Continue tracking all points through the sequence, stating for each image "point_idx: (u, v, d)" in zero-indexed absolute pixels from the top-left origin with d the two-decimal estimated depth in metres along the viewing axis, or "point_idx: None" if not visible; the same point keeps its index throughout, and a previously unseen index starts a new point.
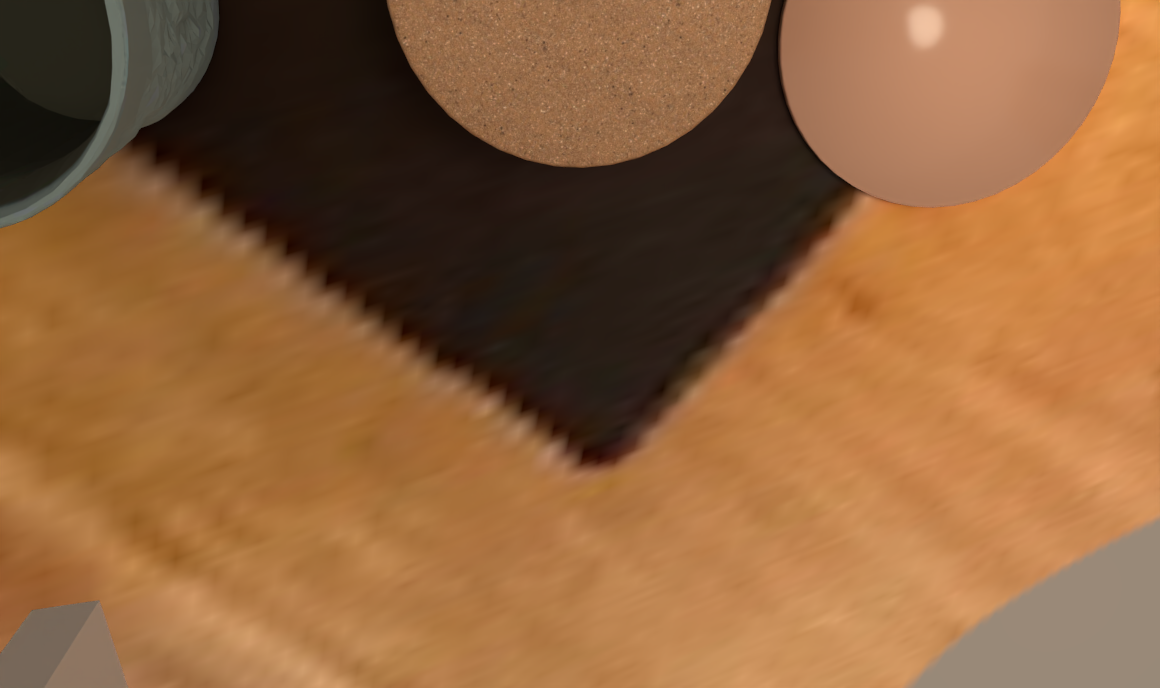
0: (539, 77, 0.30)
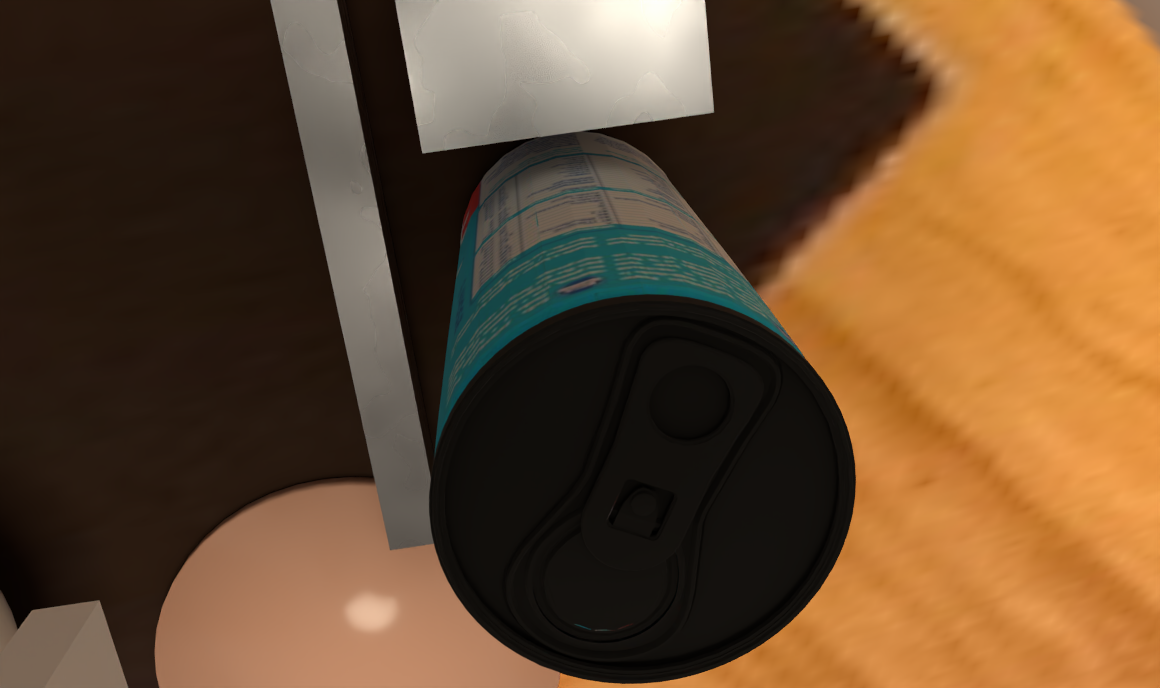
0: None
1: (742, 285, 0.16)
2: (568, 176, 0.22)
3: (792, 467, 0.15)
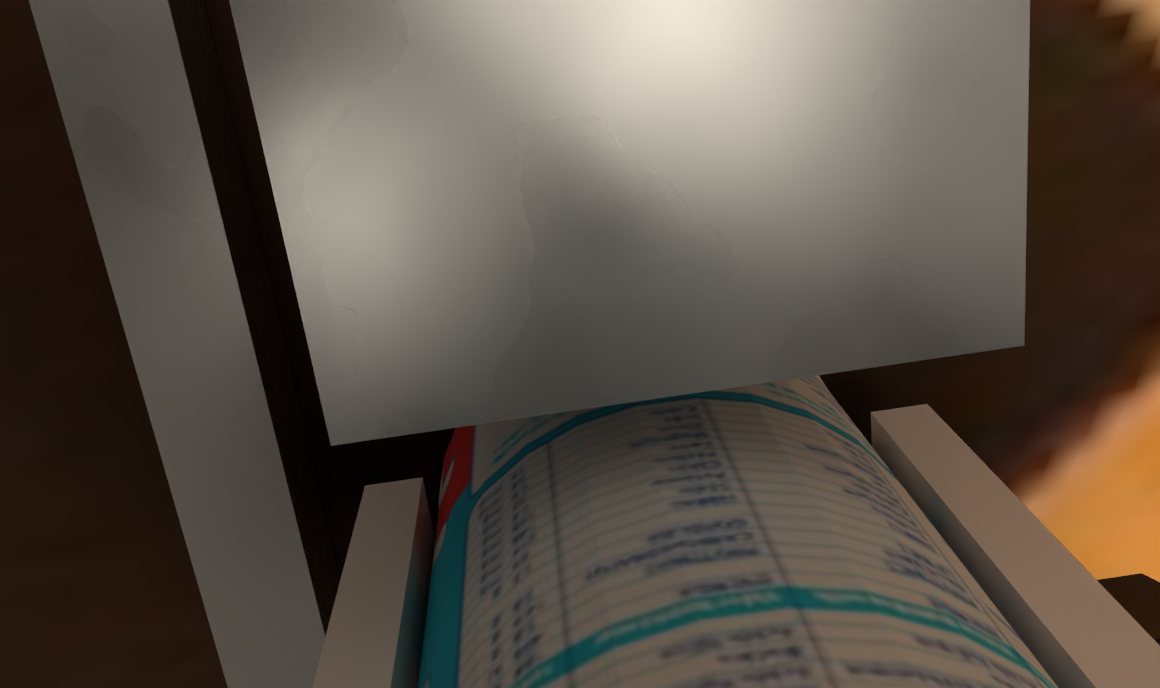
0: None
1: None
2: (681, 506, 0.09)
3: None
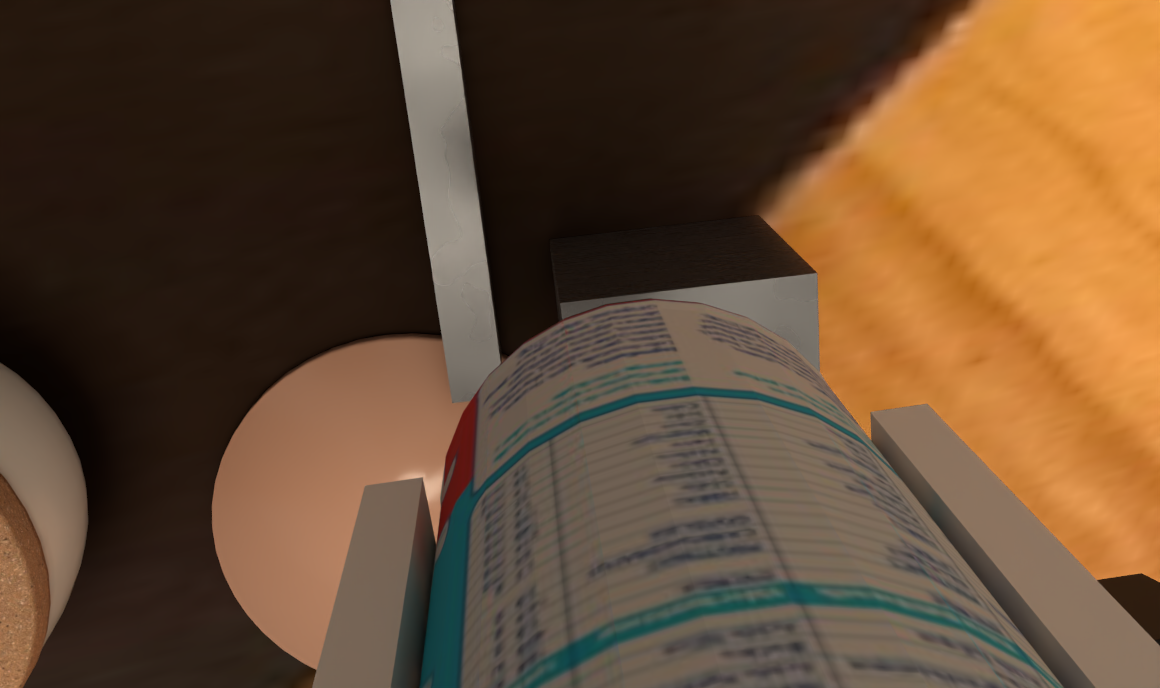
0: None
1: None
2: (684, 502, 0.09)
3: None
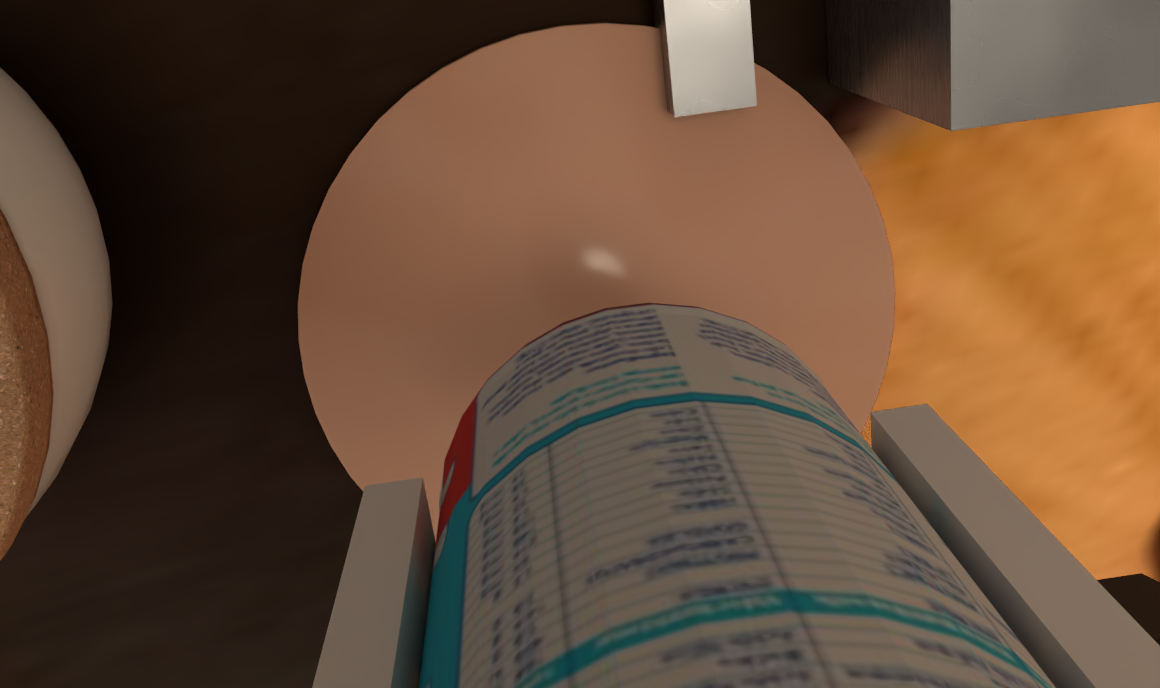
0: None
1: None
2: (682, 509, 0.09)
3: None
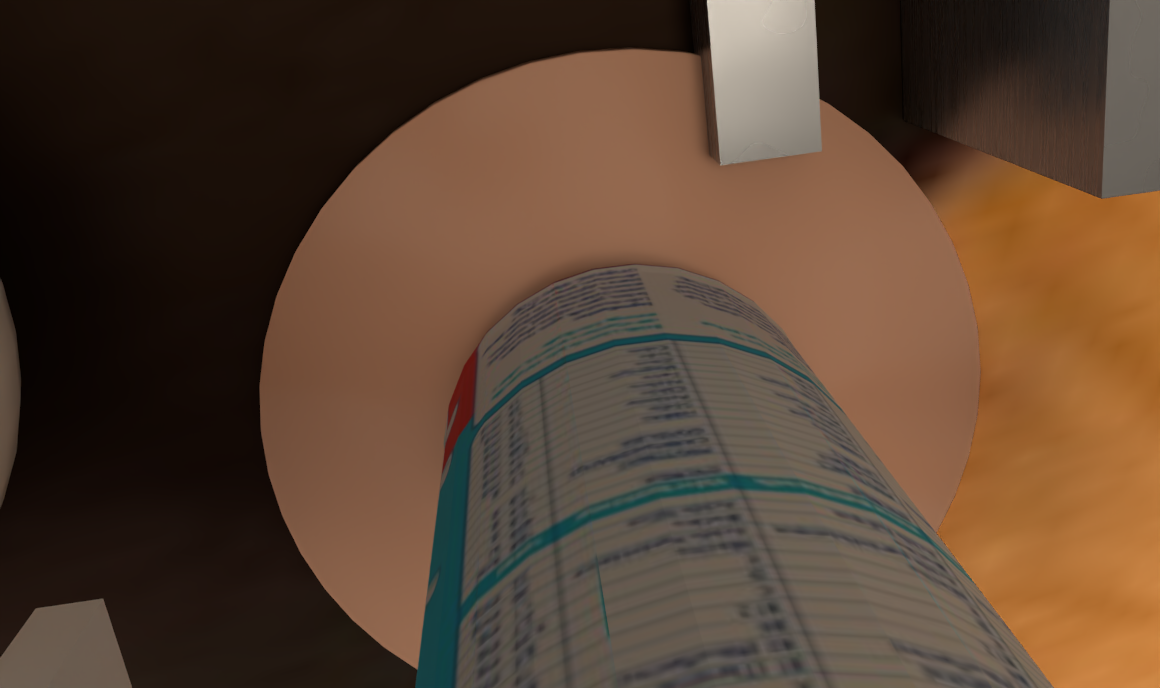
0: None
1: None
2: (650, 419, 0.11)
3: None
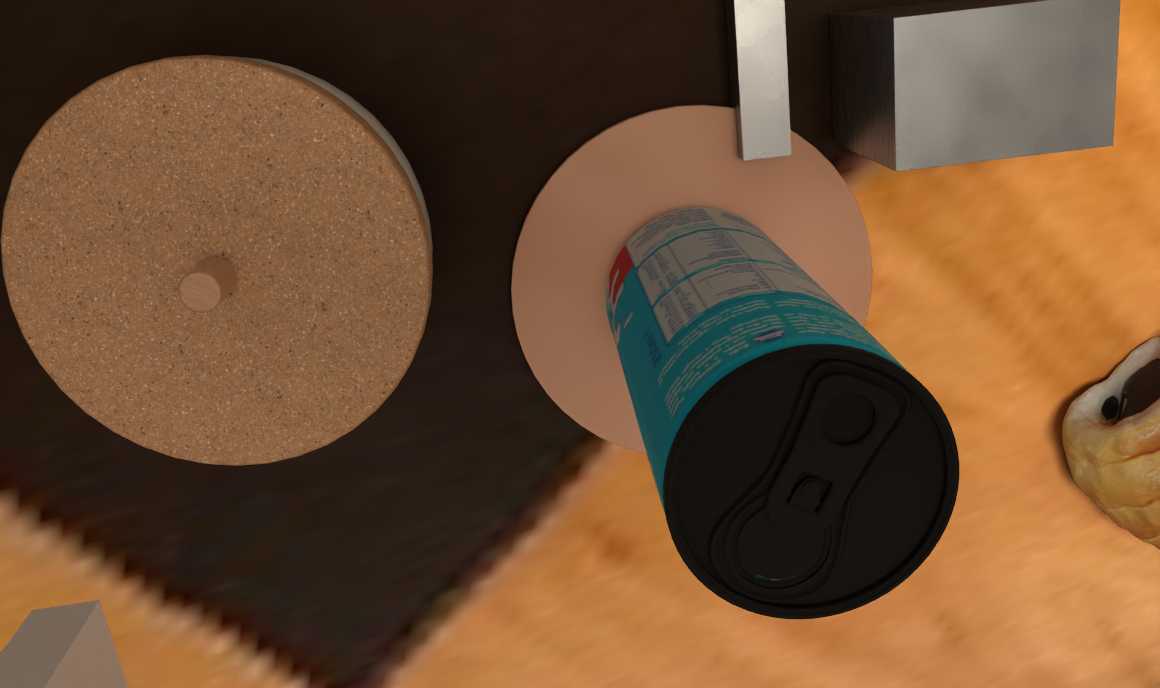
0: (177, 380, 0.28)
1: (873, 337, 0.23)
2: (718, 248, 0.28)
3: (914, 466, 0.21)
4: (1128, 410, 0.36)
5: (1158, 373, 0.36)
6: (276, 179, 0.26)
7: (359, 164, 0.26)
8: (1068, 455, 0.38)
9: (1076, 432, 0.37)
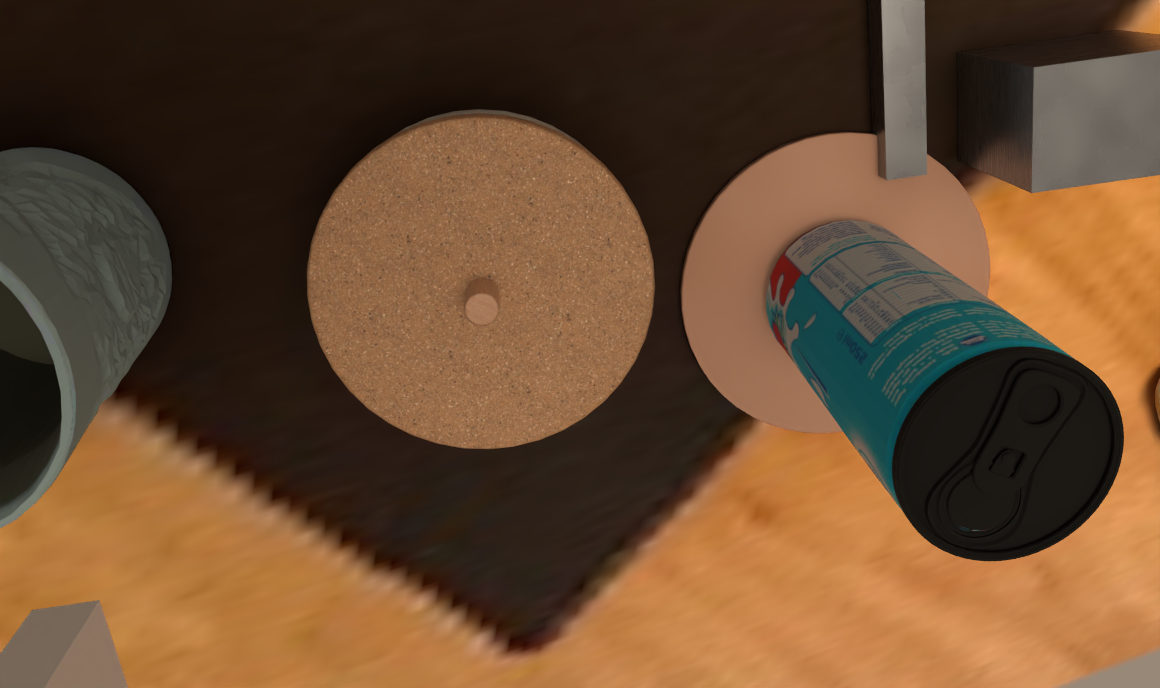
0: (446, 380, 0.34)
1: (1044, 337, 0.29)
2: (887, 261, 0.34)
3: (1087, 439, 0.27)
4: None
5: None
6: (536, 214, 0.32)
7: (603, 200, 0.32)
8: None
9: None
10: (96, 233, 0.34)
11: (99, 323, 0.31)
